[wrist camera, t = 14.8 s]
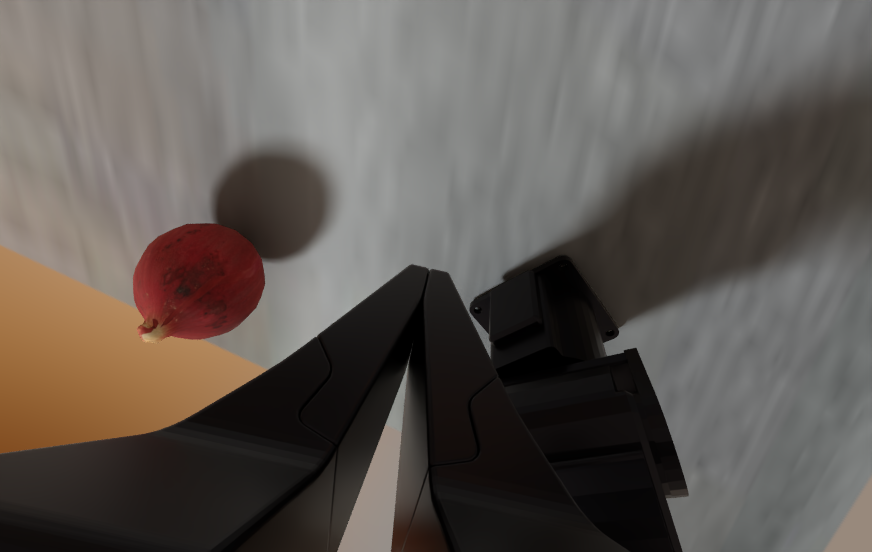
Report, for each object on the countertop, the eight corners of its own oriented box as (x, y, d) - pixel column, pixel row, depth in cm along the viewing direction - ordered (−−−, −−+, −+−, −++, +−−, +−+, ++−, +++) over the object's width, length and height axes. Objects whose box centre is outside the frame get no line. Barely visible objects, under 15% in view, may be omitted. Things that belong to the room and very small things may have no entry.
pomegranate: (217, 177, 23) (108, 257, 17) (305, 246, 25) (238, 343, 19) (173, 240, 26) (64, 330, 19) (255, 298, 28) (181, 398, 21)
